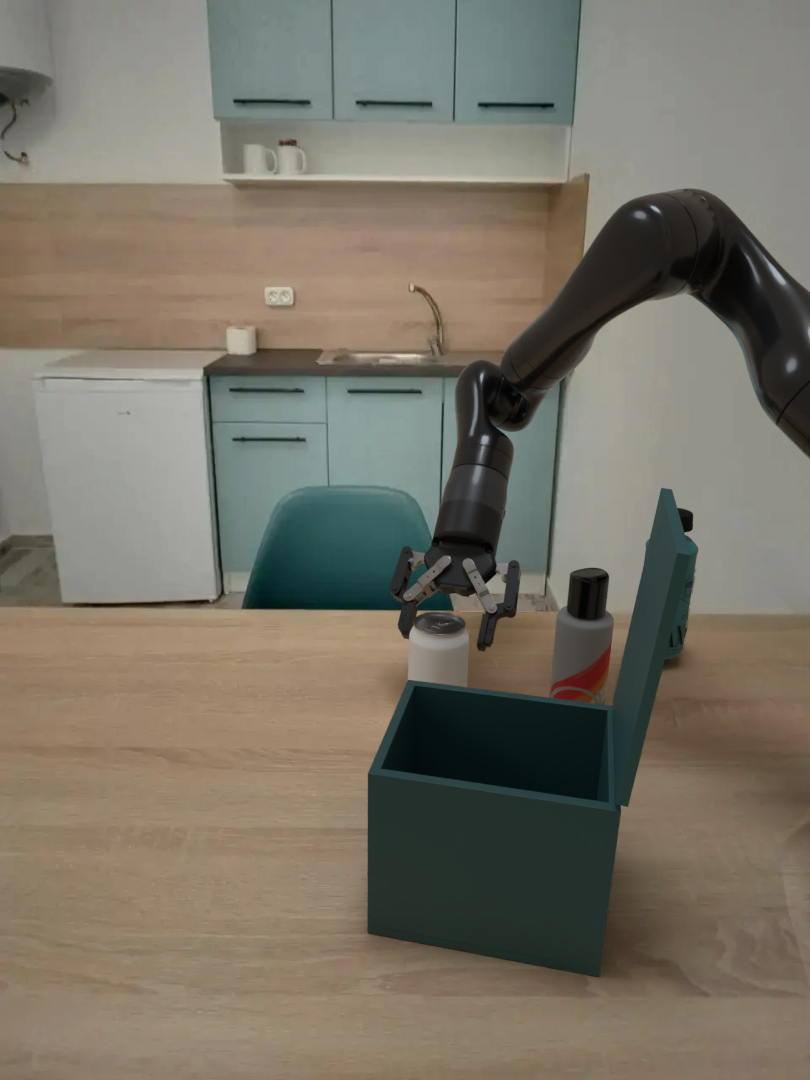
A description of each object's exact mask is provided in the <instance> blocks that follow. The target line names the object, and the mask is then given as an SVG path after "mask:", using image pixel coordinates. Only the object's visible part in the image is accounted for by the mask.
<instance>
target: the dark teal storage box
mask: <svg viewBox="0 0 810 1080" xmlns="http://www.w3.org/2000/svg"><path fill="white" fill-rule="evenodd" d="M621 816H622V806H621V805H617V804H616V783H615V750H614V717H613V705H611V704H610V705H609V704H605V705H603V704H595V703H587V702H579V701H572V700H564V699H556V698H549V696H548V697H547V696H541V695H540V696H539V695H532V694H523V693H516V692H508V691H499V690H494V689H493V690H491V689H485V688H483V689H482V688H476V687H470V686H469V687H468V686H467V687H461V686H454V685H446V684H438V683H430V682H422V681H414V680H408V679H407V681H406V684H405V686H404V687H403V690H402V694H401V695H400V697H399V699H398V702H397V705H396V707H395V709H394V712H393V714H392V715H391V718H390V720H389V723H388V725H387V727H386V730H385V733H384V735H383V737H382V739H381V742H380V744H379V747H378V748H377V751H376V754H375V756H374V758H373V761H372V763H371V765H370V767H369V770H368V771H367V907H366V908H367V911H366V912H367V913H366V915H367V916H366V917H367V923H366V924H367V925H366V927H367V934H371V933H373V934H372V935H376V934H377V936H381V935H383V936H382V937H388V938H391V939H397V938H399V939H398V940H402V939H403V940H404V941H408V940H409V942H413V943H418V942H419V943H418V944H425V945H429V946H434V947H439V946H441V947H440V948H444V949H445V948H446V949H451V950H456V951H460V950H461V952H466V953H471V954H477V955H481V956H482V955H483V956H488V957H492V958H496V959H497V958H498V959H502V960H508V961H513V962H518V963H524V964H530V965H535V966H540V967H545V968H551V969H555V970H560V971H566V972H570V973H575V974H576V973H577V974H582V975H588V976H593V977H597V978H599V977H600V976H601V975H600V973H601V966H602V959H603V951H604V950H603V949H604V945H605V937H606V929H607V921H608V914H609V906H610V901H611V900H610V899H611V893H612V892H611V891H612V885H613V884H612V883H613V877H614V876H613V875H614V868H615V861H616V855H617V854H616V853H617V846H618V839H619V831H620V825H621V824H620V823H621ZM378 934H380V935H378ZM403 940H402V941H403Z"/></svg>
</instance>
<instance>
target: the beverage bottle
mask: <svg viewBox="0 0 810 1080" xmlns="http://www.w3.org/2000/svg"><path fill="white" fill-rule="evenodd" d="M677 509H678V512H679V516H680V519H681V523H682V526H683V530H684V533H689V532H691V531H693V529H694V513H693V512H692V511H691V510H688V509H686V508H683V507H677ZM685 537H686V540H687V544H688V547H689V551H690V554H691V556H690V560H689V565H688V569H687V573H686V577H685V581H684V585H683V589H682V593H681V597H680V601H679V605H678V609H677V613H676V617H675V621H674V625H673V629H672V633H671V637H670V641H669V645H668V649H667V653H666V657H665V660H667V659H668V660H669V659H675V658H677V657H679V656H680V655H681V654H682V653H683V651H684V647H685V645H686V644H685V642H686V639H687V637H686V636H687V633H688V627H689V621H690V619H689V614H690V613H691V612H690V611H691V609H690V606H691V599H692V595H693V593H694V586H695V583H696V582H695V580H696V575H695V574H696V572H697V570H696V564H697V558H698V554H699V547H698V545H697V543H696V542H695V541H694V540H693V539H692V538H691V537H690V536H689V535H687V534H685ZM648 544H649V539H647V540H646V542H645V552H644V559H643V562H644V561H645V557H646V553H647V548H648Z"/></svg>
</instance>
